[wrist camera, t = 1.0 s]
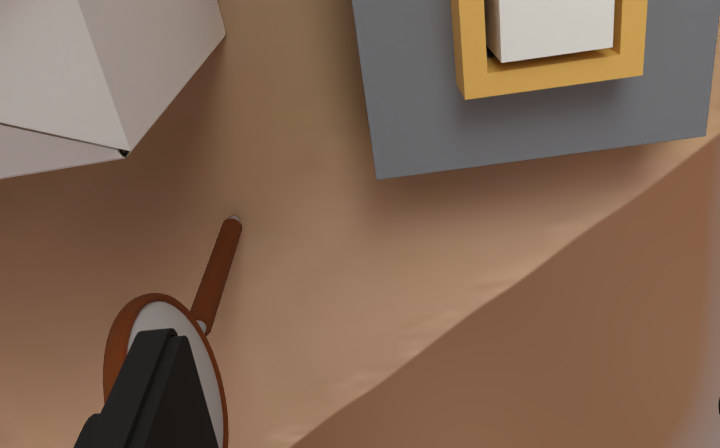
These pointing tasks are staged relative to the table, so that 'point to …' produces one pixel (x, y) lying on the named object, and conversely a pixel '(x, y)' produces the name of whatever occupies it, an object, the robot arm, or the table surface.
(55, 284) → the table surface
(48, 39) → the gable box
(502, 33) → the button
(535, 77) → the box
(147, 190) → the table surface
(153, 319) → the magnifying glass
